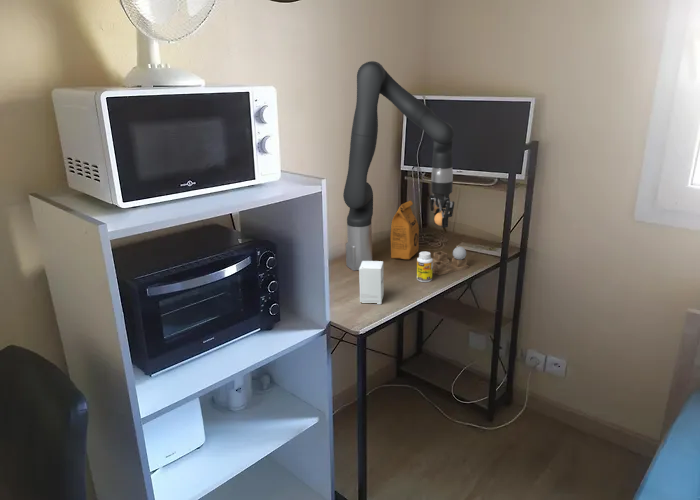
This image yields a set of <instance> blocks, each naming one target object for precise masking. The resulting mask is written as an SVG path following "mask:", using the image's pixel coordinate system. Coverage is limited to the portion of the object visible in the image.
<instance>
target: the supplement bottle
mask: <svg viewBox="0 0 700 500" xmlns="http://www.w3.org/2000/svg"><path fill="white" fill-rule="evenodd" d="M431 255H432V254H431V252H430V251H420V252H419V253H418V257H417V258H416V280H417V281H419V282H421V283H429V282H431V281H432V280H433V272H432V268H433V259H432V258H433V257H431Z"/></svg>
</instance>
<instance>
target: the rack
mask: <svg viewBox="0 0 700 500" xmlns="http://www.w3.org/2000/svg"><path fill="white" fill-rule="evenodd" d="M467 261H468V260H467V259H466V257H465V258H464V259H462V260H457V259H455V258H454V257H452V259H451V263H445V262H443V261H437V262H433V268H432V274H434V275H436V276H440V275H445V274H449V273H454V272H458V271H461V270H466V269H467V270H468V269H469V265H468V264H467Z"/></svg>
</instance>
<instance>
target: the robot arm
mask: <svg viewBox="0 0 700 500" xmlns="http://www.w3.org/2000/svg"><path fill="white" fill-rule="evenodd" d="M380 95H381V96H383V97H385V99H386V100H388V101H389V102H390V103H392V104H393V105H394V106H395V107H396V108H397V109H398V110H399V112H401V113H402V115H404V117H406V118H407V119H408V120H410V121H411V122H412V123H413V124H415V125H416V126H417V127H419V128H420V129H421V130H423V131H424V132H425V133H426V134H427V135H428V137H430V138H431V139H432V142H433V144H432V145H433V147H432V148H433V149H432V150H433V153H432V166H431V167H432V168H431V169H432V170H431V176H430V177H431V179H430V181H431V185H430V186H431V187H430V188H431V189H430V191H431V194H429V196H428V197H429V206H430V211H432V213H433V218H434V217H435V215H436V214H437V213H439V212H441V213H442V226H441V228H442V229H443V228H448V227H449V218H451V217H453V214H454V208H455V201H453V200H452V201H451V198H450V194H452V193H453V185H454V184H453V182H454V181H453V180H454V178H453V177H454V173H453V172H454V171H453V157H454V156H453V138H454V134H455V132H454V129H453V126H452V125H451V123H450V122H448V121H447V122H446V121H444V120H443V119H441V118H440V117H439V116H438V115H437V114H435V112H434V111H433V110H432V109H431V108H430V107H428V106H427V105H426V104H424V103H423V102H422V101H421V100H419V99H418V98H417V97H416V96H414V95H413V94H411V92H410V91H408V90H406V89H405V88H404V87H402V86H401V85H400V84H399V83H398V82H397V81H396V80H395V79H394V78H393V77H392V76H391V75H390V74H389V73H388V72H387V70H386V69H385V68H384V67H383V65H382V64H381V63H380V62H377V61H374V60H371V61H366V62H364V63H362V65H360V66H359V68H358V70H357V73H356V102H355V103H356V104H355V109H354V115H353V118H352V119H353V121H352V127H351V135H350V142H349V144H350V145H349V155H348V156H349V157H348V168H347V174H346V180H345V185H344V188H343V194H342V195H343V197H342V198H343V201H344V203H345V205H346V207H348V208H349V209H348V210H349V211H348V214H347V217H346V225H347V226H346V228H347V242H346V243H345V258H346V259H345V260H346V261H345V262H346V263H345V264H346V267H347V268H349V269H350V270H352V271H354V272H355V271H359V268H360V265H361V263H362V261H373V237H372V235H373V233H372V230H373V227H372V221H373V220H372V219H373V216H374V193H373V192H374V191H373V188H372V186H371V184H370V183H369V182H367V181H368V172H369V169H370V166H371V164H372V161H373V158H374V155H375V152H376V148H377V142H378V132H379V131H378V130H379V120H378V119H379V115H378V104H379V98H380ZM444 213H445V214H444ZM433 222H434V224H435V225H437V224H436V223H435V221H434V220H433Z"/></svg>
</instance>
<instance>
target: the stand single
mask: <svg viewBox="0 0 700 500" xmlns="http://www.w3.org/2000/svg"><path fill="white" fill-rule="evenodd" d="M431 258H432V259H433V262H437V261H443V262H445V263H447V264H450V259H448V253H447V252H444V251H442V250H440V251H435V252H433V257H431Z"/></svg>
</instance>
